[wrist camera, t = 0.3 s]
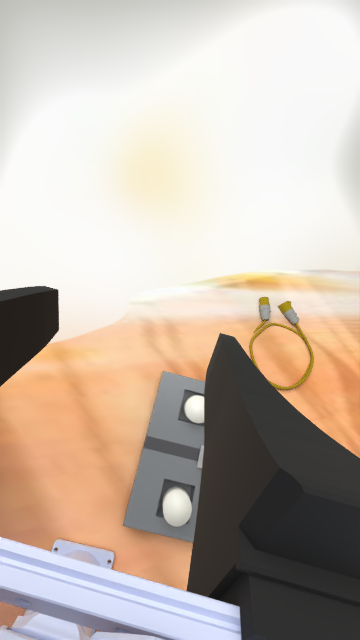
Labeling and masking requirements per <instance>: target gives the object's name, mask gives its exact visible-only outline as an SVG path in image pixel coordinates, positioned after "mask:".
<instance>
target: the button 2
mask: <svg viewBox="0 0 360 640" xmlns="http://www.w3.org/2000/svg"><path fill="white" fill-rule="evenodd" d="M184 412H185V415H186V416H187V417H188V418H189V419H190V420H191V421H192V422H194V423H203V422H204V397H203V396H198V395H193V396H191V397H189V398H188V399H187V400H186V402H185V404H184Z"/></svg>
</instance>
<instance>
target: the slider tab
mask: <svg viewBox="0 0 360 640" xmlns="http://www.w3.org/2000/svg"><path fill="white" fill-rule="evenodd" d="M203 453H204V445H201V447H200V452H199V457H198V462H197V467H198V468H202V463H203Z"/></svg>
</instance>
